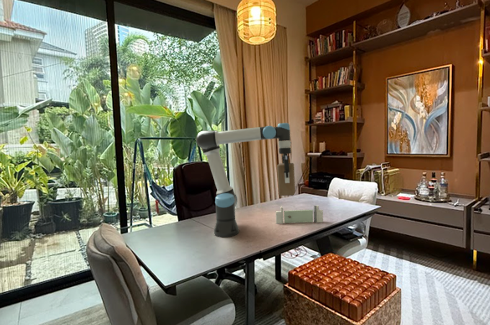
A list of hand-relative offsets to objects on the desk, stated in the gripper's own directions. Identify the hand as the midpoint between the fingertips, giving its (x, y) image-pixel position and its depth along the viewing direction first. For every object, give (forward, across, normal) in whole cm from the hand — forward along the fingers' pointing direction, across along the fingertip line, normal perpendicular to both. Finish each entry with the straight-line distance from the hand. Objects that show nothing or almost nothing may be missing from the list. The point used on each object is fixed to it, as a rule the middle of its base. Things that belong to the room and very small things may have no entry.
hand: (286, 181), depth 171 cm
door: (+28, +3, -7) cm, 29 cm away
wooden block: (+9, 0, 0) cm, 9 cm away
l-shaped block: (+29, +4, -8) cm, 30 cm away
